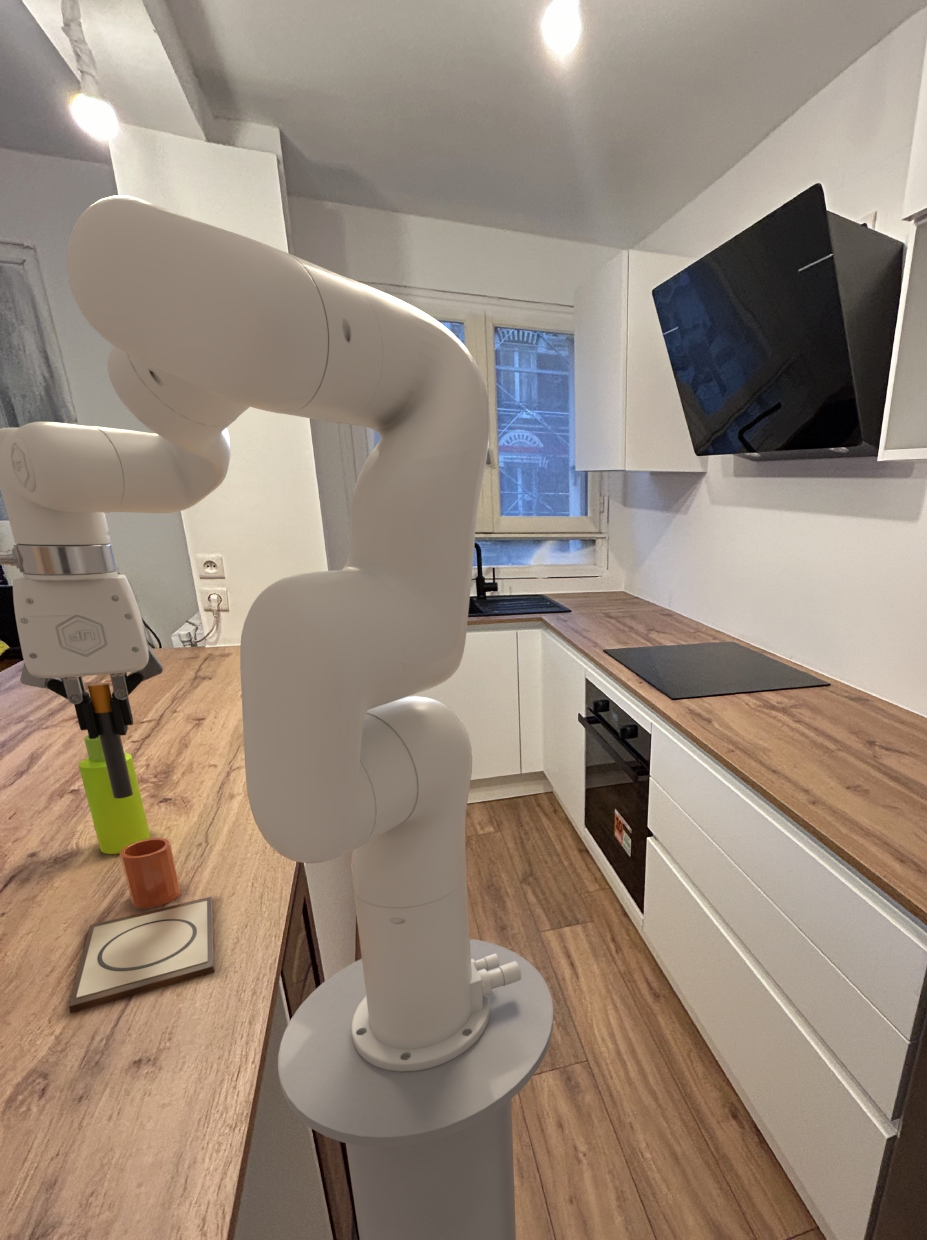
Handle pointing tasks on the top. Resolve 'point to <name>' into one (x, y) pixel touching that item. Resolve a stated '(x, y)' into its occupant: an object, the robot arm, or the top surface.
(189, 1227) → the top surface
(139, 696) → the top surface
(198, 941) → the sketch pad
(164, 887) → the pen pot
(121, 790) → the marker
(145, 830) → the soap dispenser
